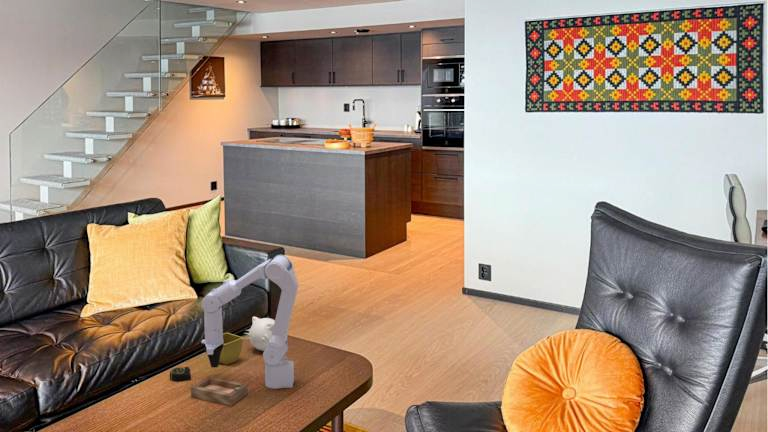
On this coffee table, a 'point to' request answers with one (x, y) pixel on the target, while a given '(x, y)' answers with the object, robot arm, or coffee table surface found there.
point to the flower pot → (230, 348)
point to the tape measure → (180, 374)
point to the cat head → (260, 332)
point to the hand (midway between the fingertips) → (214, 366)
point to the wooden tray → (219, 391)
